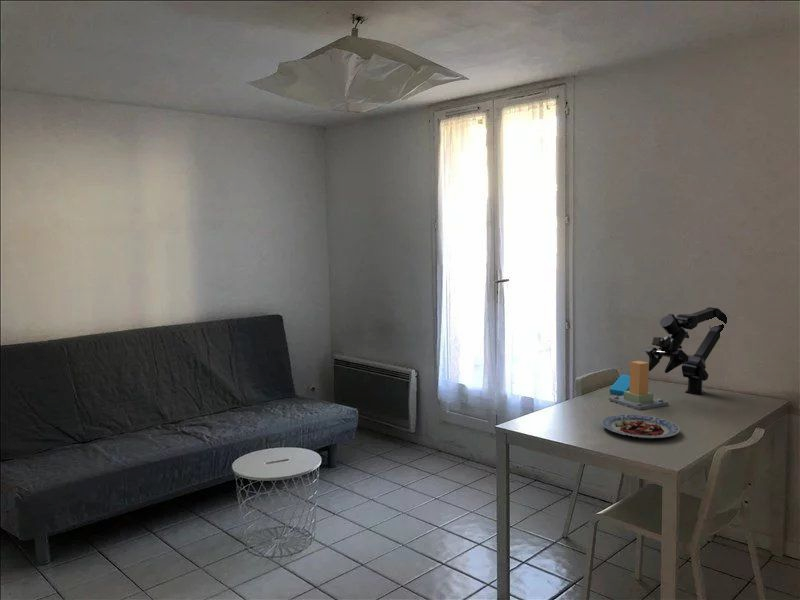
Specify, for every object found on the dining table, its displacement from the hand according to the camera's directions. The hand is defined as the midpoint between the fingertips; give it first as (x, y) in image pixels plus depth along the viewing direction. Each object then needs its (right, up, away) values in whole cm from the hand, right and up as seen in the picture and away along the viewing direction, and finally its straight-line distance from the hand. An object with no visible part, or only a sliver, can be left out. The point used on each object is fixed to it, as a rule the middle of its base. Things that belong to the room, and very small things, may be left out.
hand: (657, 371), depth 264 cm
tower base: (-8, -12, -2) cm, 15 cm away
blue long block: (-7, -11, +18) cm, 22 cm away
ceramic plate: (-21, -17, -37) cm, 46 cm away
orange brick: (-8, -8, -2) cm, 12 cm away
